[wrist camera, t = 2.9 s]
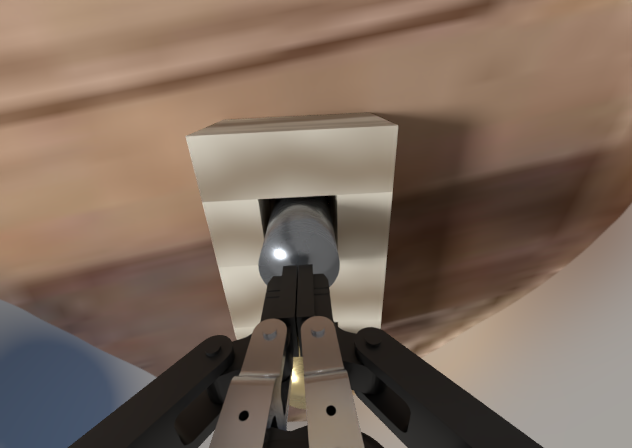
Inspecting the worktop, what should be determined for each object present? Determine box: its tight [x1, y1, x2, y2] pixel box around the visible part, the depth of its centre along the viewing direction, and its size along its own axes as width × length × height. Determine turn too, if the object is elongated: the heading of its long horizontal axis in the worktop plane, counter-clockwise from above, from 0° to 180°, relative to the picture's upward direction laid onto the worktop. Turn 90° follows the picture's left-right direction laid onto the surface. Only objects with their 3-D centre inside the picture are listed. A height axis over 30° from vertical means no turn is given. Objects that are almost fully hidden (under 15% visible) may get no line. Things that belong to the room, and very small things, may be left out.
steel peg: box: [258, 196, 340, 287], centre depth 18 cm, size 4×4×7 cm
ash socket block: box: [186, 113, 398, 340], centre depth 24 cm, size 24×12×8 cm, turn 2°
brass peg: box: [289, 347, 306, 409], centre depth 23 cm, size 4×4×7 cm
